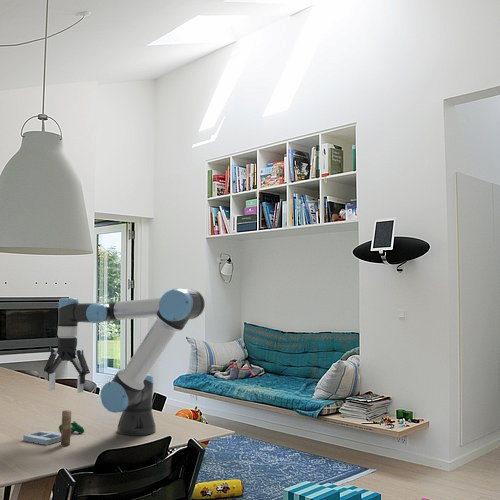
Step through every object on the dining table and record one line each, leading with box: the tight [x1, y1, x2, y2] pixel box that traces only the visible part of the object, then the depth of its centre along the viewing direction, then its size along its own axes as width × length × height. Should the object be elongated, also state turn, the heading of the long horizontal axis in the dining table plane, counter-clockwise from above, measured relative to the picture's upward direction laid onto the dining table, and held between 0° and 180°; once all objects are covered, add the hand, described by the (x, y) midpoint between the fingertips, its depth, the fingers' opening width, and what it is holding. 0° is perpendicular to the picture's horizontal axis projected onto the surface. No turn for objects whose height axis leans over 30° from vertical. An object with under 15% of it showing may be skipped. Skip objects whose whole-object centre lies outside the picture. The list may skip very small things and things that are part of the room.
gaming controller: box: [58, 420, 85, 434], centre depth 240 cm, size 9×4×6 cm
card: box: [70, 431, 80, 437], centre depth 240 cm, size 5×10×1 cm, turn 152°
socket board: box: [22, 430, 61, 446], centre depth 230 cm, size 12×10×2 cm
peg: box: [60, 410, 72, 447], centre depth 225 cm, size 3×3×12 cm
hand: (65, 391), depth 244 cm, fingers open, 13 cm apart
